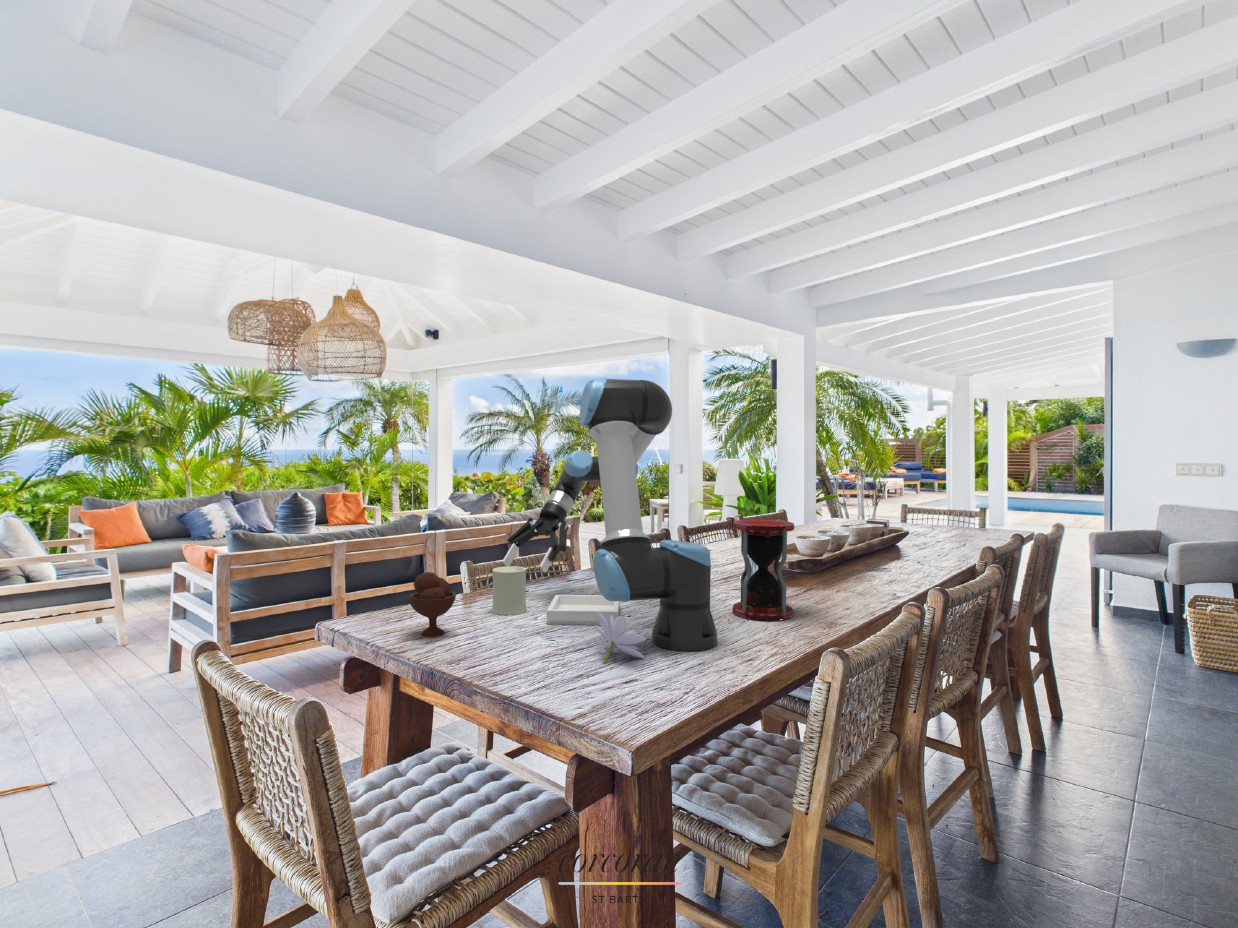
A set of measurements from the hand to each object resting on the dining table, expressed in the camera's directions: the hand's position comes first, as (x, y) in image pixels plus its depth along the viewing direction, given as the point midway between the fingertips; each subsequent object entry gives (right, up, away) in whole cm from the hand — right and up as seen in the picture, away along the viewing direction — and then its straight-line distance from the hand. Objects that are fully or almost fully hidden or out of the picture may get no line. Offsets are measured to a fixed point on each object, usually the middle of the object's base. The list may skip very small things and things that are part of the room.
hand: (523, 566), depth 188 cm
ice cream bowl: (-18, -12, -28) cm, 36 cm away
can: (-3, -11, -6) cm, 13 cm away
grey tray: (+18, -11, -11) cm, 24 cm away
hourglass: (+66, -12, -7) cm, 67 cm away
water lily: (+27, -13, -45) cm, 55 cm away
